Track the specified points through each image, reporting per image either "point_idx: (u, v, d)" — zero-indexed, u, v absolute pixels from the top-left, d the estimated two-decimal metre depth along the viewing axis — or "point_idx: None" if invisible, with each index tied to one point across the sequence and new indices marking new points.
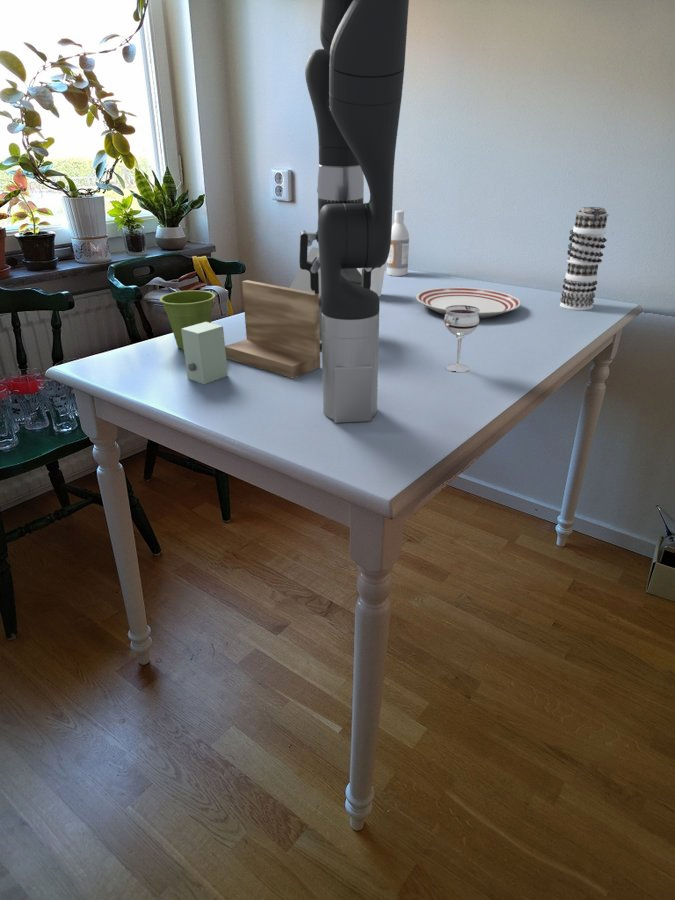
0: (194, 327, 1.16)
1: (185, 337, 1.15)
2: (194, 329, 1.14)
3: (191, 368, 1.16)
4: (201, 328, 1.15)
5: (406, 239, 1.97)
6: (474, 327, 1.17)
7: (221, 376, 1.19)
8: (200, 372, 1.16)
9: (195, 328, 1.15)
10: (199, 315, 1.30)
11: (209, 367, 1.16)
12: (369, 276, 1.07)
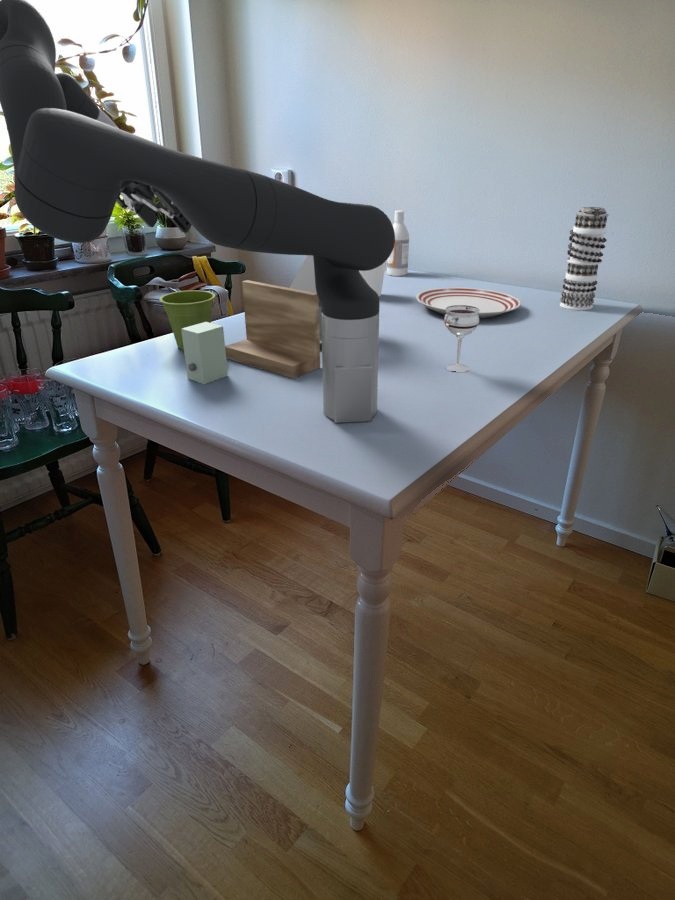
0: (194, 327, 1.16)
1: (185, 337, 1.15)
2: (194, 329, 1.14)
3: (191, 368, 1.16)
4: (201, 328, 1.15)
5: (406, 239, 1.97)
6: (474, 327, 1.17)
7: (221, 376, 1.19)
8: (200, 372, 1.16)
9: (196, 328, 1.15)
10: (199, 315, 1.30)
11: (209, 367, 1.16)
12: (178, 220, 0.98)
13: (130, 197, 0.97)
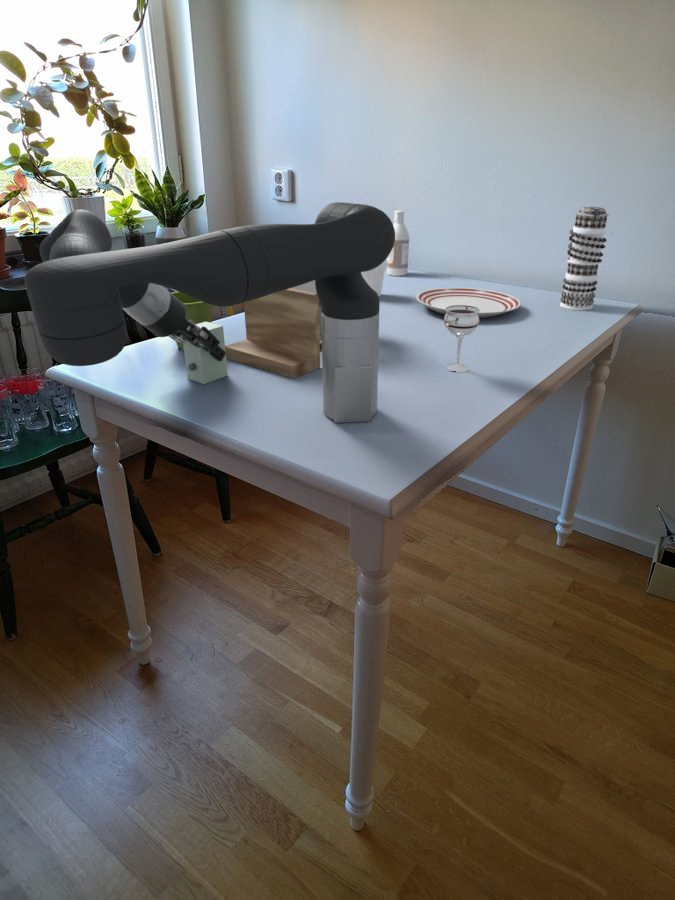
0: None
1: None
2: None
3: (191, 368, 1.16)
4: None
5: (406, 239, 1.97)
6: (474, 327, 1.17)
7: (221, 376, 1.19)
8: (200, 372, 1.16)
9: None
10: (199, 315, 1.30)
11: (209, 367, 1.16)
12: (214, 353, 1.15)
13: (176, 336, 1.13)
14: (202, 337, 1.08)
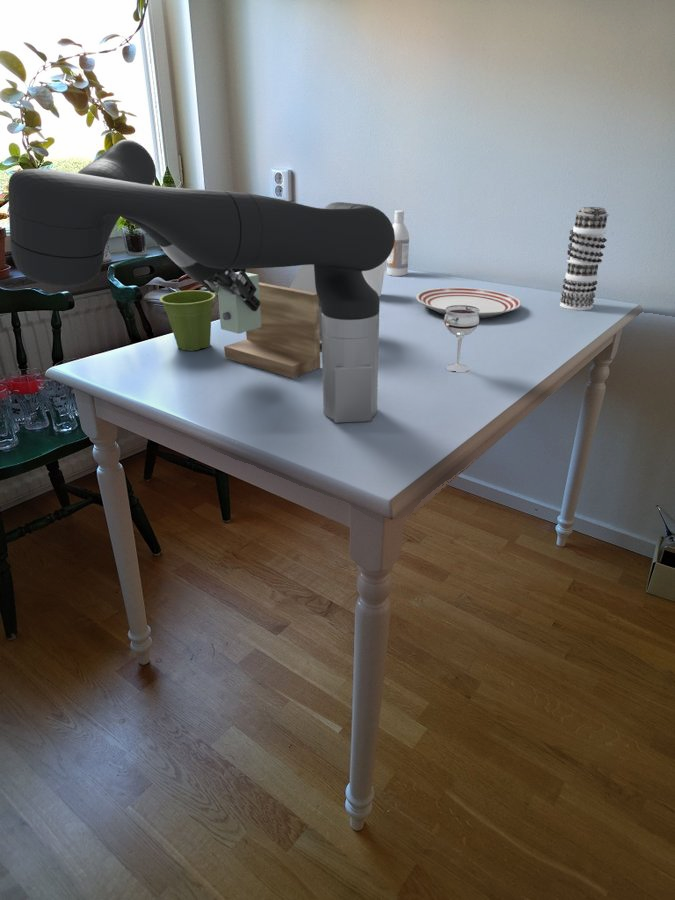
0: None
1: None
2: None
3: (226, 317, 1.14)
4: None
5: (406, 239, 1.97)
6: (474, 327, 1.17)
7: (255, 327, 1.18)
8: (235, 321, 1.14)
9: None
10: (199, 315, 1.30)
11: (243, 316, 1.15)
12: (249, 302, 1.13)
13: (212, 282, 1.11)
14: (240, 281, 1.06)
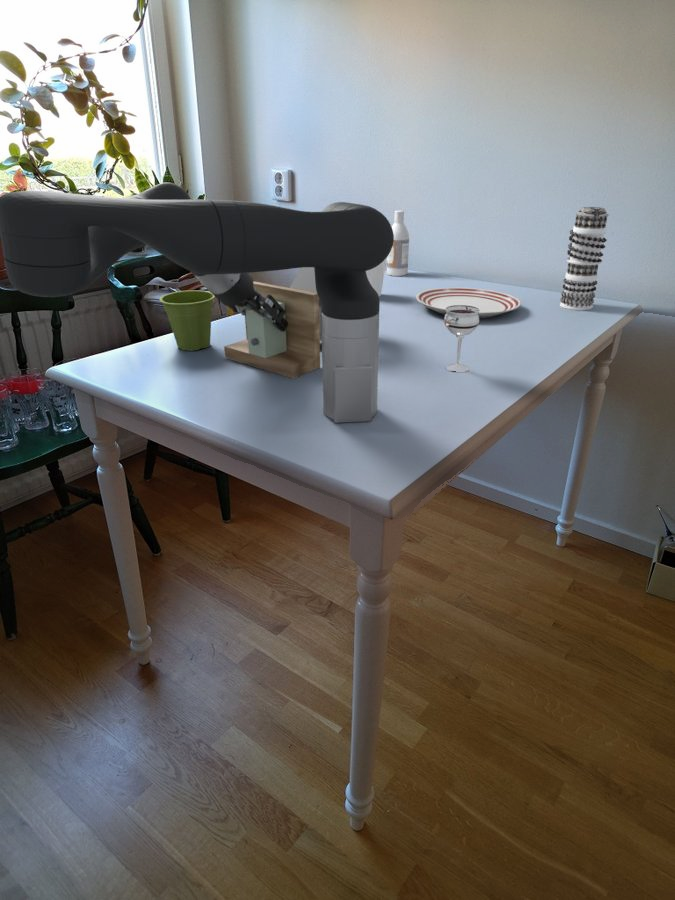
0: None
1: (248, 313, 1.20)
2: None
3: (254, 343, 1.21)
4: None
5: (406, 239, 1.97)
6: (474, 327, 1.17)
7: (281, 351, 1.25)
8: (262, 347, 1.21)
9: None
10: (199, 315, 1.30)
11: (270, 342, 1.22)
12: (279, 323, 1.19)
13: (241, 306, 1.18)
14: (267, 304, 1.12)
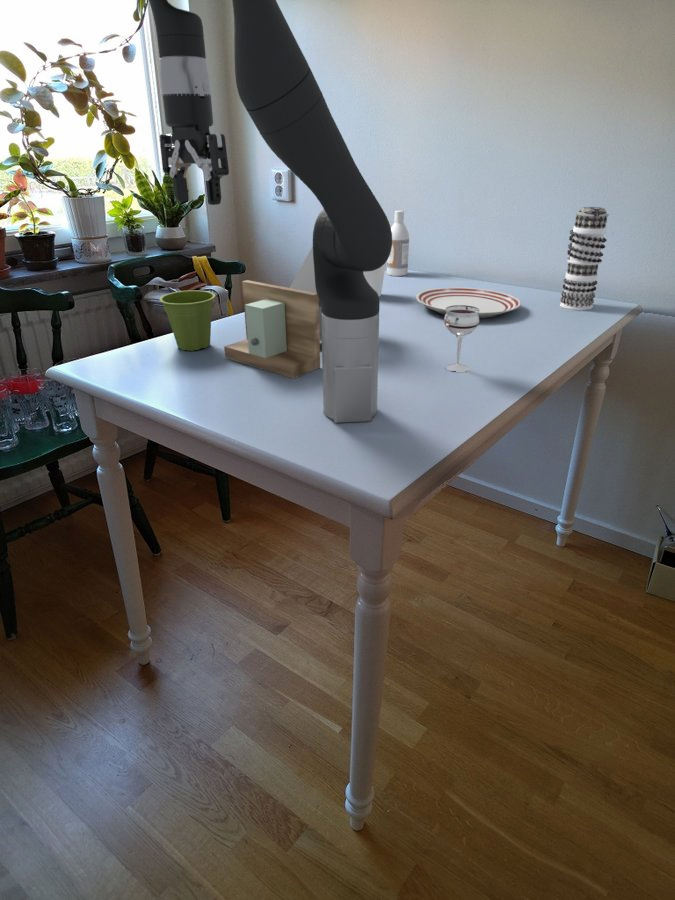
0: (257, 303, 1.21)
1: (248, 313, 1.20)
2: (258, 305, 1.20)
3: (254, 343, 1.21)
4: (264, 304, 1.20)
5: (406, 239, 1.97)
6: (474, 327, 1.17)
7: (281, 351, 1.25)
8: (262, 347, 1.21)
9: (259, 304, 1.20)
10: (199, 315, 1.30)
11: (270, 342, 1.22)
12: (212, 186, 0.99)
13: (180, 151, 1.00)
14: (215, 137, 0.95)
